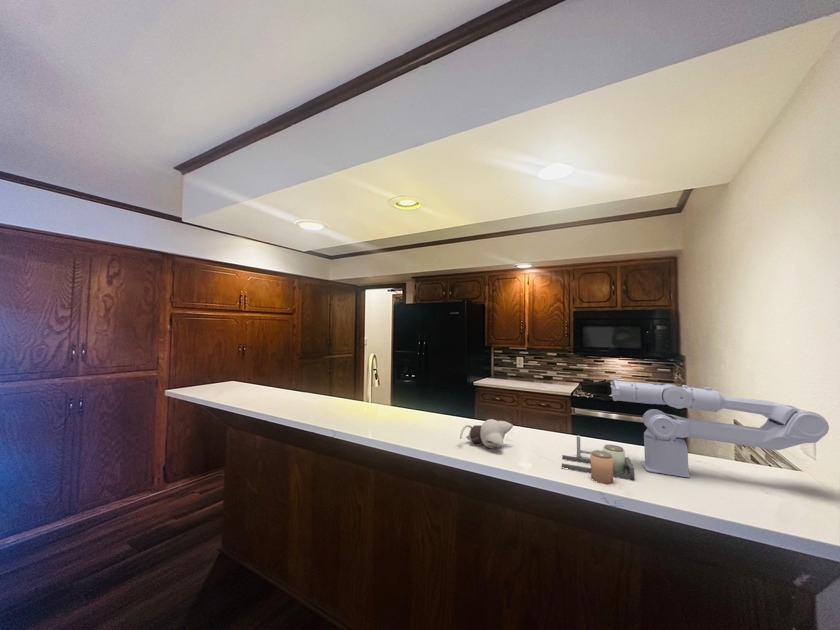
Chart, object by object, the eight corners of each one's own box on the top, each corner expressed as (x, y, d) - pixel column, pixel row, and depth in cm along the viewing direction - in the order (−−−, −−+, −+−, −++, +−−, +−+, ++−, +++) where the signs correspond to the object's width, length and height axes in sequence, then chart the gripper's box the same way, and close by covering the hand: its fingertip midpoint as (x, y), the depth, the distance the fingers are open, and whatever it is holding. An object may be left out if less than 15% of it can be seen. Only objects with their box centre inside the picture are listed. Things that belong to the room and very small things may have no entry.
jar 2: (623, 470, 90) (623, 446, 90) (626, 477, 85) (625, 451, 86) (602, 466, 92) (602, 443, 92) (604, 473, 87) (604, 448, 88)
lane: (629, 468, 91) (628, 457, 91) (634, 480, 83) (634, 468, 83) (562, 458, 98) (562, 448, 98) (561, 468, 90) (561, 457, 90)
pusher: (599, 458, 98) (598, 438, 98) (603, 472, 87) (602, 450, 87) (576, 454, 101) (576, 435, 101) (577, 468, 89) (577, 446, 90)
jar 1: (612, 477, 84) (611, 452, 85) (614, 485, 80) (613, 458, 80) (590, 474, 86) (590, 449, 87) (591, 481, 82) (591, 454, 82)
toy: (463, 459, 107) (504, 459, 98) (453, 435, 107) (494, 433, 98) (478, 435, 118) (517, 434, 109) (469, 413, 117) (508, 410, 108)
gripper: (629, 377, 102) (581, 373, 107) (638, 379, 89) (582, 374, 94) (630, 400, 101) (581, 395, 106) (638, 405, 88) (582, 399, 93)
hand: (581, 387), depth 100 cm, fingers open, 7 cm apart
